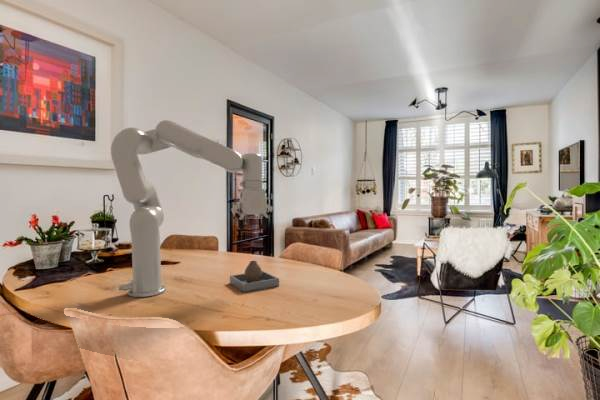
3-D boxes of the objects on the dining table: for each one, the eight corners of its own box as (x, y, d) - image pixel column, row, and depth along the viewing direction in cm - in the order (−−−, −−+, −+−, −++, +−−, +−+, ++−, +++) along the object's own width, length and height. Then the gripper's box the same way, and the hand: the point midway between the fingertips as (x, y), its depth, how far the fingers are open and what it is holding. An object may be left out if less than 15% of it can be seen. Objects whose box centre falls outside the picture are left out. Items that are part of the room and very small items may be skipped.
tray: (243, 292, 122) (243, 284, 121) (229, 283, 134) (229, 275, 134) (279, 286, 129) (279, 278, 129) (262, 277, 142) (262, 270, 142)
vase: (261, 285, 128) (260, 263, 128) (243, 285, 128) (242, 263, 128) (263, 280, 135) (263, 259, 135) (246, 281, 135) (246, 259, 135)
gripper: (235, 185, 123) (235, 231, 123) (276, 185, 132) (276, 228, 132) (228, 185, 129) (228, 229, 129) (268, 185, 138) (268, 226, 139)
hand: (253, 228), depth 131 cm, fingers open, 9 cm apart
